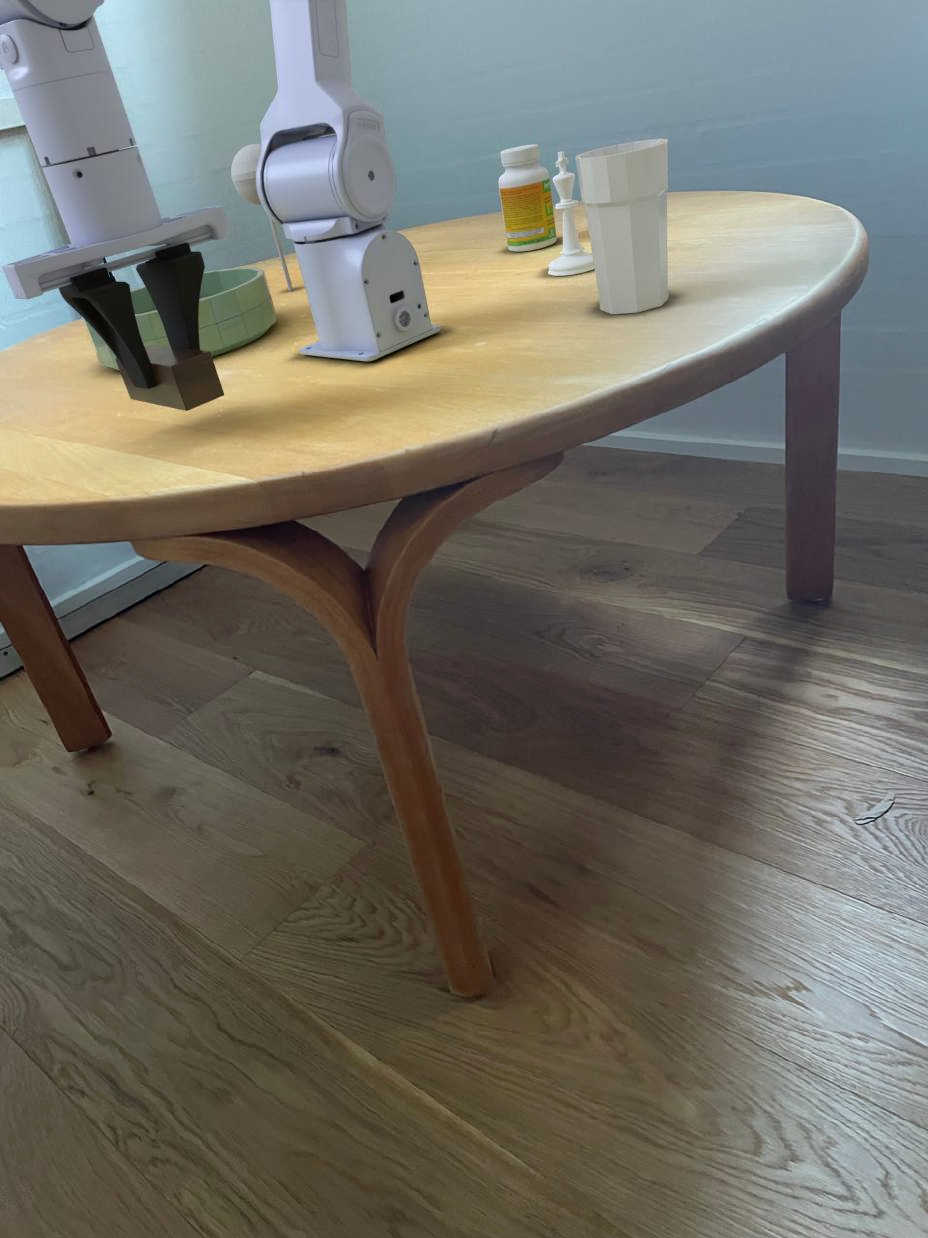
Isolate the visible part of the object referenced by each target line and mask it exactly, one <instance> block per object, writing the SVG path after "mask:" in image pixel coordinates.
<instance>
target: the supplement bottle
mask: <svg viewBox="0 0 928 1238" xmlns="http://www.w3.org/2000/svg"><path fill="white" fill-rule="evenodd" d="M540 156H541V154H540V148H539V144H537V143H534V144H532V143H531V144H525V145H520V146H515V147H514V146H513V147H510V148H506V149H503V150H501V151H500V161H501V165H502V167H503V168H504V172H503V173H502V174H501V175H500V176H499V178H498V181H497V182H498V192H499V197H500V205H501V212H502V218H503V224H504V233H505V238H506V239H505V240H506V245H507V249H508V250H509V251H511V252H518V253H519V252H529V251H535V250H540V249H543V248H546V247H549V246H553V244H555V243H556V242H557V229H556V221H555V213H554V205H553V195H552V190H551V189H552V188H551V180H550V174H549V171H548V169H547V168H546V167H545V166H541V165H540V164H539V160H541V157H540Z"/></svg>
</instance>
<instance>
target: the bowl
mask: <svg viewBox="0 0 928 1238" xmlns="http://www.w3.org/2000/svg"><path fill="white" fill-rule="evenodd" d="M130 291H131V297H132V303H133V308H134V313H135V317H136V321H137V325H138V329H139V332H140V336H141V339H142V342H143V344H144V347H146V346H149V345H151V344H153V345H161V346H170V344H169V341H168V338H167V335H166V332H165V329H164V326H163V323H162V320H161V318H160V316H159V313H158V311H157V309H156V307H155V305H154V303H153V300H152V298H151V296H150V294H149V292H148V290H147V289H146V287H145V286H142V287H138V288H136V289H135V288H134V289H131V290H130ZM80 317H81V320H82V322H83V323H84V327H85V329H86V331H87V334H88V337H89V339H90V342H91V344H92V347H93V350H94V352H95V355H96V357H97V360H98V362H99V364H101V366H102V367H104V368H105V367H106V368H109V369H110V368H111V369H113V370H115V371H118V372H120V370H119V368H118V365H117V362H116V360H115V358H116V356H115V354H114V353H113V352H112V350H111V349H110V348H109V346H108V345H107V344H106V343H105V341H104V340H103V339H102V338H101V337H100V335H99V334H98V333H97V332H96V331H95V330H94V329H93V328H92V326H91V325H90V324H89V323H88V322H87V321H86V320H85V319H84V318H83V317H82V316H81V315H80ZM198 320H199V342H200V350H203V351H210V352H211V355H212V358H213V357H216V356H219V355H222V354H225V353H228V352H230V351H233V350H236V349H238V348H241V347H243V346H245V345H248V344H249V343H252V342H253V341H255V340H257V339H258V338H259V339H260V337H262V336H264V335H265V334H266V333H267V332H268V331H269V330H270V328H271V326H273V325H274V324H276V322H277V312H276V308H275V305H274V301H273V298H272V295H271V290H270V287H269V284H268V280H267V276H266V274H265V269H262V268H260V267H257V266H256V267H255V266H253V267H252V266H245V267H244V266H239V267H231V268H223V269H221V268H220V269H216V270H209V271H204V274H203V278H202V284H201V290H200V299H199V317H198Z"/></svg>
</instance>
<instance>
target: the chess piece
mask: <svg viewBox="0 0 928 1238" xmlns="http://www.w3.org/2000/svg"><path fill="white" fill-rule="evenodd" d="M554 164H555V168H558V169H559V172H558V174H556V175H553V177H552V183H553V185H554V187H555V189H556V191H557V194H558V196H559V198H560V200H559V202H557V203H556V204H555V207H554V208H555V209H556V210H561V211H562V212H561V213H562V250H561V251H559V254H560V256H559V257H557V258H555V259H553V260H552V261H551V262H549V263H548V265H547V268H548V271H547V274H548V275H550V276H552V277H553V276H554V277H565V276H572V275H579V274H583V273H587V272H589V271H593V270H595V268H594V262H593V256H592V252H585V251H584V250H585V247H583V246H582V244H581V242H580V237H579V233H578V229H577V225H576V220H575V214H574V209H573V208H574V207H577V206H579V201H578V200H577V199H573V197H572V196H573V192H574V184H575V180H576V175H575V173H573V172H569V171H567V164H570V161H569V157H566V155H565V151H564V150H563V151H558V152H557V160H556V161H555V162H554Z"/></svg>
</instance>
